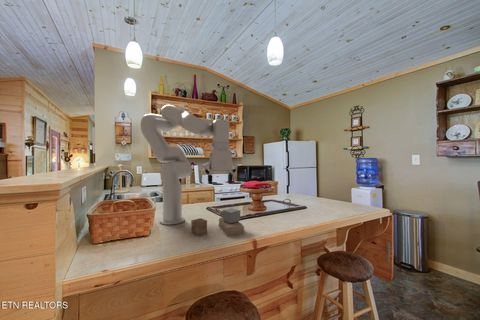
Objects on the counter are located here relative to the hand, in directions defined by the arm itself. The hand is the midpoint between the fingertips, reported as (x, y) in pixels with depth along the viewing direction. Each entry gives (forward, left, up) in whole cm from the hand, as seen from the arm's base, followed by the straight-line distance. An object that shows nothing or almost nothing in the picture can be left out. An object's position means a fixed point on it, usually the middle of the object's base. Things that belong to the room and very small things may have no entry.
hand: (220, 183), depth 105 cm
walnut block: (-3, -10, -22) cm, 24 cm away
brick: (+3, +4, -23) cm, 23 cm away
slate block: (+3, +5, -18) cm, 19 cm away
